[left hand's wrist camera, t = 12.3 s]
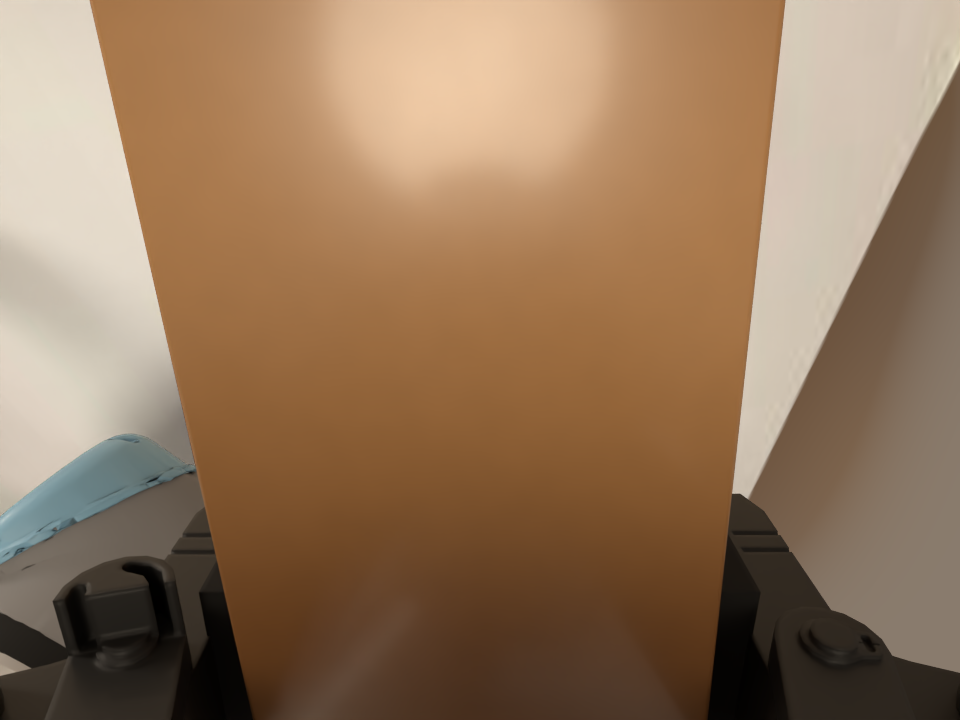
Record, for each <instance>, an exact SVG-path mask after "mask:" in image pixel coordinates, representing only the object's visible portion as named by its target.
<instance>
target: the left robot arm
mask: <svg viewBox="0 0 960 720" xmlns="http://www.w3.org/2000/svg"><path fill="white" fill-rule="evenodd" d="M0 720H253V717H252V712H251V708H250V704H249V699H248V695H247V690H246V686H245V682H244V677H243V673H242V668H241V664H240V660H239V655H238V651H237V646H236V642H235V637H234V633H233V629H232V624H231V620H230V615H229V611H228V607H227V602H226V598H225V593H224V589H223V585H222V580H221V576H220V571H219V567H218V563H217V558H216V554H215V549H214V545H213V541H212V536H211V532H210V527H209V523H208V519H207V514H206V510H205V505H204V501H203V497H202V492H201V488H200V483H199V479H198V475H197V470H196V466H194V465H190V464H189V465H187V464H185V463H184V462H182V461H181V460H179V459H178V458H177V457H175V456H174V455H172V454H171V453H169V452H168V451H166V450H165V449H164V448H162V447H161V446H159V445H158V444H156V443H155V442H154V441H152V440H151V439H149V438H147V437H144V436H141V435H137V434H124V435H118V436H114V437H112V438H110V439H107V440H105V441H103V442H101V443H99V444H98V445H96V446H94V447H93V448H91V449H90V450H88V451H87V452H85V453H83V454H82V455H80V456H79V457H78V458H76V459H75V460H73V461H72V462H71V463H69V464H68V465H66V466H65V467H63V468H62V469H61V470H59V471H58V472H56V473H55V474H54V475H52V476H51V477H50V478H48V479H47V480H46V481H44V482H43V483H42V484H40V485H39V486H38V487H36V488H35V489H34V490H33V491H31V492H30V493H29V494H27V495H26V496H25V497H23V498H22V499H21V500H20V501H18V502H17V503H16V504H15V505H13V506H12V507H11V508H10V509H8V510H7V511H6V512H5V513H4V514H2V515H1V516H0ZM708 720H960V673H958V672H953V671H949V670H945V669H940V668H936V667H932V666H928V665H923V664H919V663H915V662H911V661H907V660H904V659H901V658H897V657H894V656H892V655H891V653H890V652H889V650H888V648H887V647H886V645H885V644H884V642H883V641H882V639H881V638H880V637H878V636H877V635H876V634H875V633H874V632H873V631H871V630H870V629H869V628H868V627H867V626H866V625H864V624H862V623H860V622H858V621H856V620H855V619H853V618H851V617H849V616H847V615H845V614H843V613H839V612H836V611H832V610H831V609H830V608H829V606H828V605H827V604H826V602H825V601H824V599H823V598H822V596H821V595H820V593H819V592H818V590H817V589H816V587H815V586H814V584H813V583H812V581H811V580H810V578H809V577H808V575H807V574H806V572H805V571H804V570H803V568H802V567H801V565H800V564H799V562H798V561H797V559H796V558H795V556H794V555H793V553H792V552H789V547H788V546H787V544H786V543H785V542H784V540H783V539H782V537H781V536H780V535H778V533H777V530H776V528H775V527H774V525H773V524H772V522H771V521H770V519H769V518H768V516H767V515H766V513H765V512H764V511H763V510H762V509H760V508H759V507H758V506H756V505H755V504H753V503H752V502H751V501H749V500H748V499H747V498H745V497H744V496H743V495H741V494H732V498H731V507H730V516H729V526H728V535H727V544H726V553H725V563H724V572H723V581H722V590H721V600H720V609H719V618H718V627H717V636H716V646H715V655H714V664H713V673H712V683H711V692H710V701H709V710H708Z"/></svg>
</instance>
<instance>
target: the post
mask: <svg viewBox="0 0 960 720" xmlns="http://www.w3.org/2000/svg"><path fill="white" fill-rule="evenodd" d="M90 4H91V8H92V13H93V17H94V21H95V26H96V30H97V35H98V39H99V43H100V48H101V52H102V57H103V61H104V65H105V70H106V74H107V79H108V83H109V87H110V92H111V96H112V101H113V105H114V109H115V114H116V118H117V123H118V127H119V131H120V136H121V140H122V145H123V149H124V153H125V158H126V162H127V167H128V171H129V175H130V180H131V184H132V189H133V193H134V197H135V202H136V206H137V211H138V215H139V219H140V224H141V228H142V233H143V237H144V241H145V246H146V250H147V255H148V259H149V263H150V268H151V272H152V277H153V281H154V285H155V290H156V294H157V299H158V303H159V307H160V312H161V316H162V321H163V325H164V329H165V334H166V338H167V343H168V347H169V351H170V356H171V360H172V365H173V369H174V373H175V378H176V382H177V387H178V391H179V395H180V400H181V404H182V409H183V413H184V417H185V422H186V426H187V431H188V435H189V439H190V444H191V448H192V453H193V457H194V461H195V466H196V470H197V475H198V479H199V483H200V488H201V492H202V497H203V501H204V505H205V510H206V514H207V519H208V523H209V527H210V532H211V536H212V541H213V545H214V549H215V554H216V558H217V563H218V567H219V571H220V576H221V580H222V585H223V589H224V593H225V598H226V602H227V607H228V611H229V615H230V620H231V624H232V629H233V633H234V637H235V642H236V646H237V651H238V655H239V660H240V664H241V668H242V673H243V677H244V682H245V686H246V690H247V695H248V699H249V704H250V708H251V712H252V717H253V720H708V710H709V701H710V692H711V683H712V673H713V664H714V655H715V646H716V636H717V627H718V618H719V609H720V600H721V590H722V581H723V572H724V563H725V553H726V544H727V535H728V526H729V516H730V507H731V498H732V489H733V479H734V470H735V461H736V452H737V442H738V433H739V424H740V415H741V406H742V396H743V387H744V378H745V369H746V359H747V350H748V341H749V332H750V322H751V313H752V304H753V295H754V285H755V276H756V267H757V258H758V248H759V239H760V230H761V221H762V212H763V202H764V193H765V184H766V175H767V165H768V156H769V147H770V138H771V128H772V119H773V110H774V101H775V91H776V82H777V73H778V64H779V55H780V45H781V36H782V27H783V18H784V8H785V0H90Z"/></svg>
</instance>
